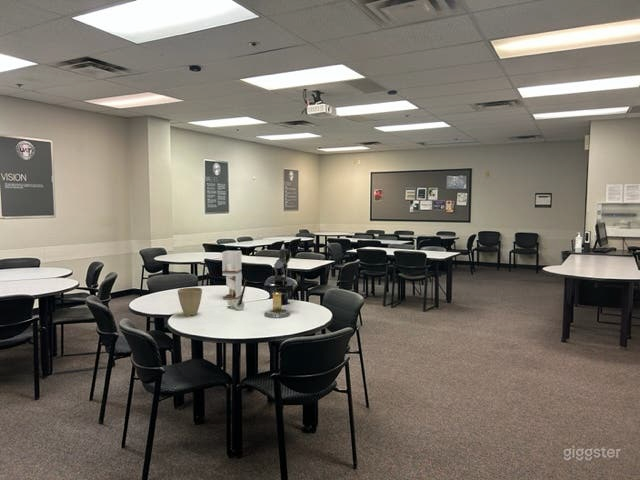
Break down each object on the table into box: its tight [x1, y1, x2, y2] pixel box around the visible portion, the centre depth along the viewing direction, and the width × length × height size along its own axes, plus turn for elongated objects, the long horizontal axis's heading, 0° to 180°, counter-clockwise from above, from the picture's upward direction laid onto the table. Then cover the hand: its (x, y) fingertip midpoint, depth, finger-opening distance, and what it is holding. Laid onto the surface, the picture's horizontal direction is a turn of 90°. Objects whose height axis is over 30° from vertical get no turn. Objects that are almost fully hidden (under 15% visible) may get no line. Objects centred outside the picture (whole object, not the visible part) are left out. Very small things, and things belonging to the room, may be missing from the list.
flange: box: [263, 308, 291, 319], centre depth 283 cm, size 16×16×2 cm
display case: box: [221, 250, 243, 301], centre depth 333 cm, size 11×11×35 cm
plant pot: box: [177, 287, 203, 317], centre depth 282 cm, size 15×15×16 cm
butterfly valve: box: [226, 279, 248, 311], centre depth 303 cm, size 9×20×17 cm
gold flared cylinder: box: [271, 291, 282, 313], centre depth 282 cm, size 6×6×13 cm
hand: (277, 297), depth 285 cm, fingers open, 9 cm apart
